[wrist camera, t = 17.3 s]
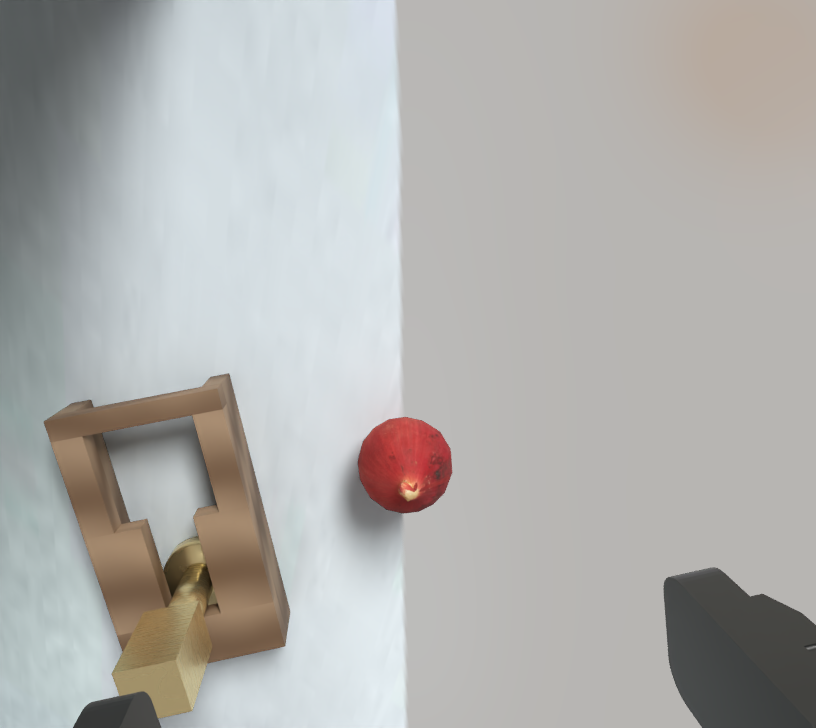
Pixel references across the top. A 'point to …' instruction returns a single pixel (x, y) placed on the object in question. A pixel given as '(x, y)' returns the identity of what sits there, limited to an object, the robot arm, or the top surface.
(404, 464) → the onion
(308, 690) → the top surface
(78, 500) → the keyhole plate
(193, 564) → the keyhole peg
